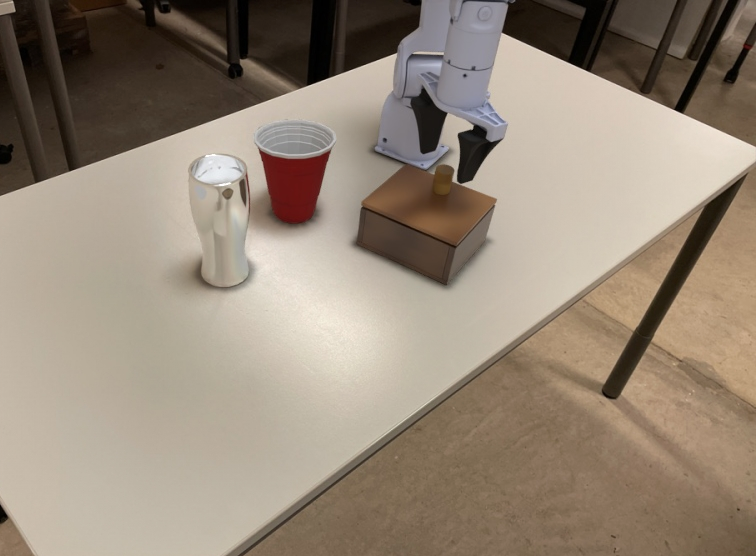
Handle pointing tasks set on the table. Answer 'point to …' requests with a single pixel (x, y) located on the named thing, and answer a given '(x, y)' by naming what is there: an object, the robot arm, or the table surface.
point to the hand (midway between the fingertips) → (445, 165)
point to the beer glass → (221, 216)
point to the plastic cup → (294, 165)
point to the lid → (430, 202)
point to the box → (419, 244)
